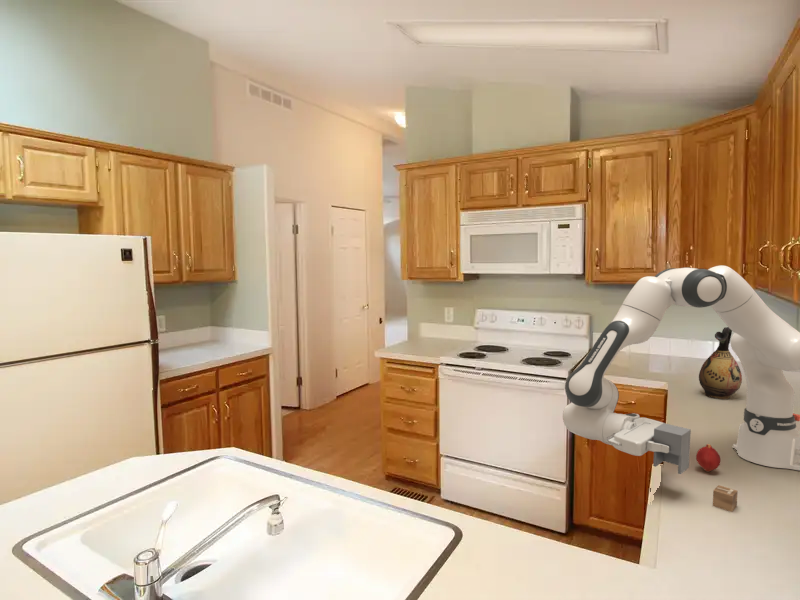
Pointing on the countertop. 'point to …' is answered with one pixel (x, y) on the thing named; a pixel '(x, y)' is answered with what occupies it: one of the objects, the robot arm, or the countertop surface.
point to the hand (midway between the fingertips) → (675, 445)
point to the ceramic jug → (721, 370)
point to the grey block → (673, 445)
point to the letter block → (725, 498)
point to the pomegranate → (708, 458)
